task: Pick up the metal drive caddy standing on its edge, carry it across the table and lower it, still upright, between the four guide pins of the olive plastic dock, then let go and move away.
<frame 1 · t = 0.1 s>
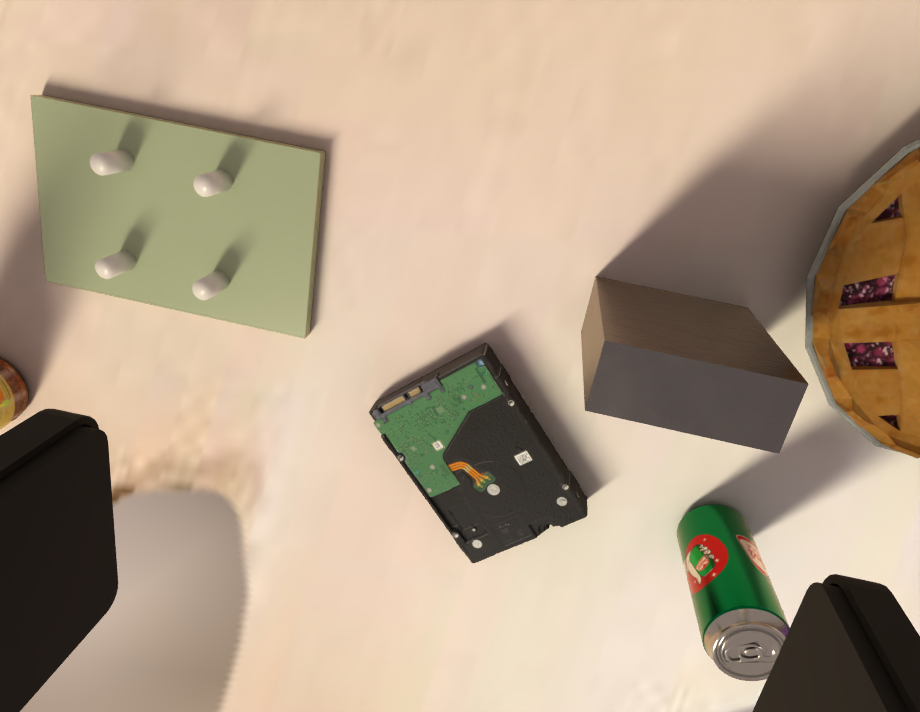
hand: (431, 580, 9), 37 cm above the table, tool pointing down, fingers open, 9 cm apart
dock: (180, 219, 47), on the table
disk drive: (482, 446, 51), on the table
drive caddy: (662, 320, 45), on the table
soda can: (710, 526, 50), on the table
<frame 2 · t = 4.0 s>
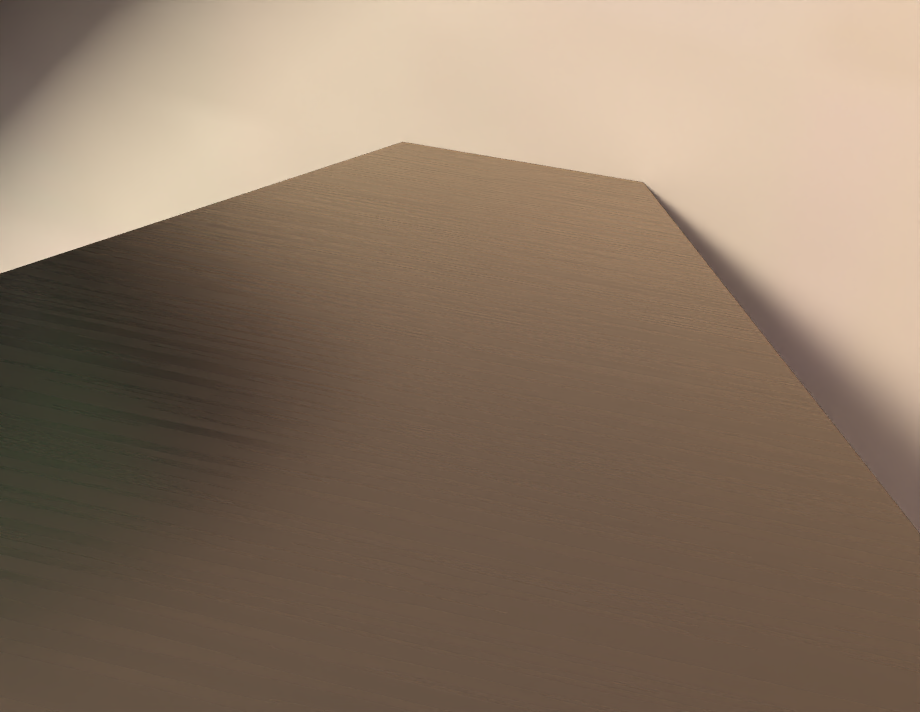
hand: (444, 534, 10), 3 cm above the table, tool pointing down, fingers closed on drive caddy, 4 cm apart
drive caddy: (474, 426, 13), on the table, touching gripper
when the fingers open (5 cm above the table, at t = 12.6 s): drive caddy stays where it is, resting on dock.
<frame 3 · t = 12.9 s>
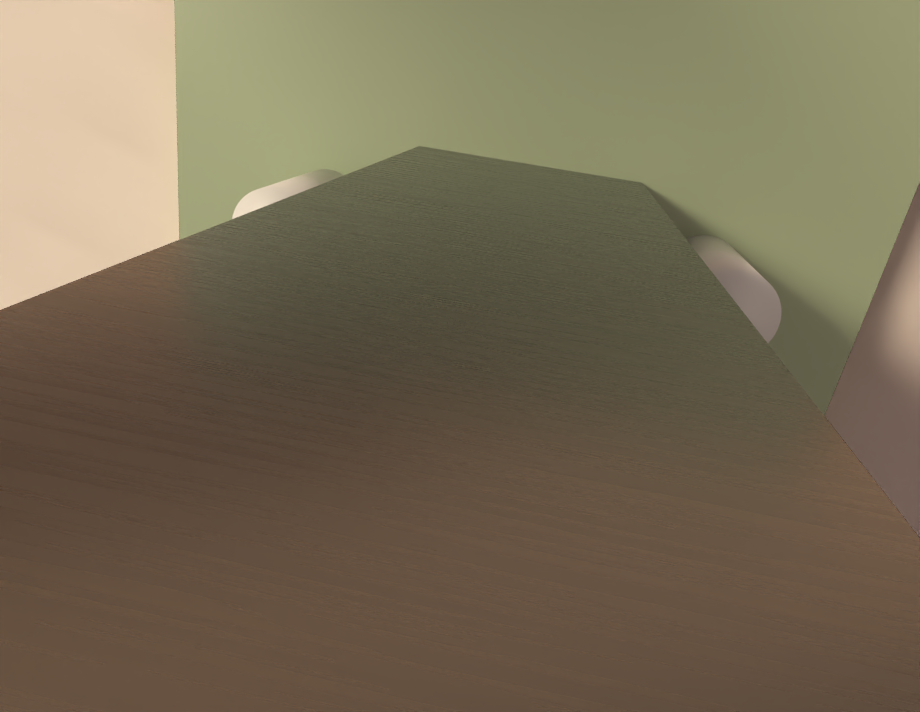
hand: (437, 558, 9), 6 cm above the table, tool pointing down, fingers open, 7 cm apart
dock: (485, 385, 15), on the table
drive caddy: (485, 411, 14), point 1 cm above the table, touching dock
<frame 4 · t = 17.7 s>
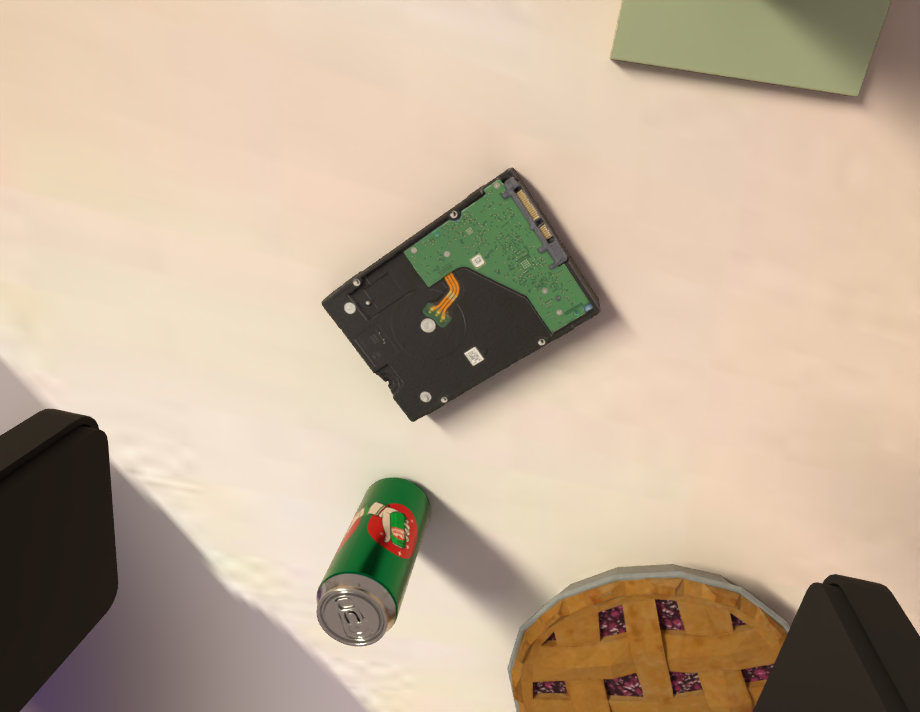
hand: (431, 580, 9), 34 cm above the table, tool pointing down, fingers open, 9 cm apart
pie: (650, 656, 53), on the table
disk drive: (462, 294, 44), on the table
soda can: (399, 500, 50), on the table
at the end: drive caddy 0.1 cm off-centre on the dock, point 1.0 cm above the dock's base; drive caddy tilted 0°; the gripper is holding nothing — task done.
